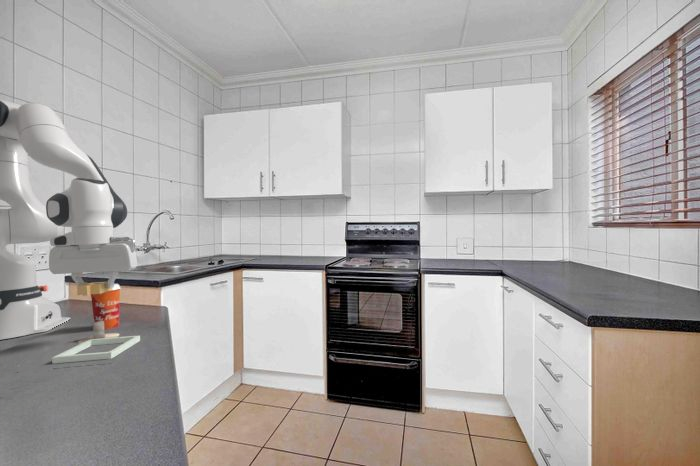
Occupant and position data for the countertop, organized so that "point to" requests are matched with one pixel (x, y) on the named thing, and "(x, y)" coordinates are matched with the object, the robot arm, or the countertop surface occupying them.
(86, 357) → the tray
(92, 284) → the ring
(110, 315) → the paper cup
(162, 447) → the countertop surface
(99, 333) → the stand
